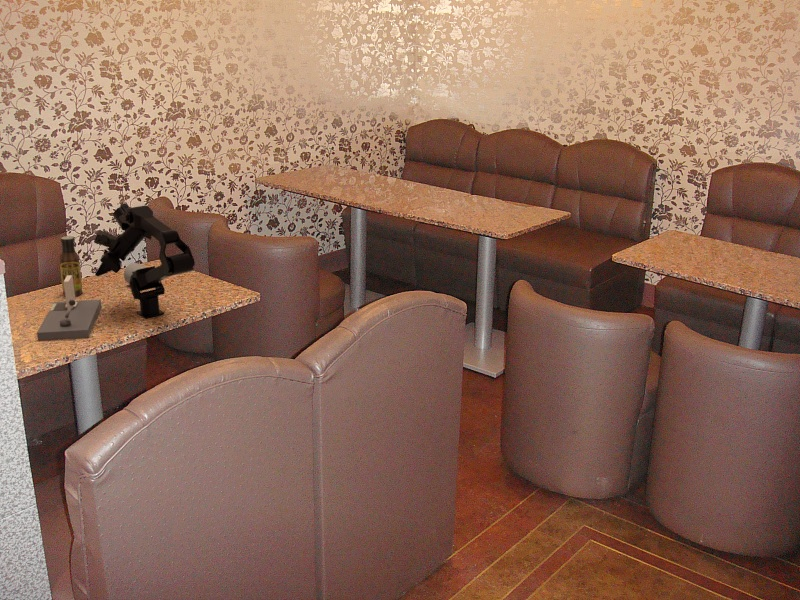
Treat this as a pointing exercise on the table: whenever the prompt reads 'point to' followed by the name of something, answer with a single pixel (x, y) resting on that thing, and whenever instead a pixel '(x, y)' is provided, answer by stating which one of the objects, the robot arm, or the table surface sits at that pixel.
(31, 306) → the table surface
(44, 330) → the switch panel
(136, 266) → the ceramic mug
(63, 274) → the sauce bottle
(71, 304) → the steel toggle lever
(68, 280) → the ivory paddle
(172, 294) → the table surface
